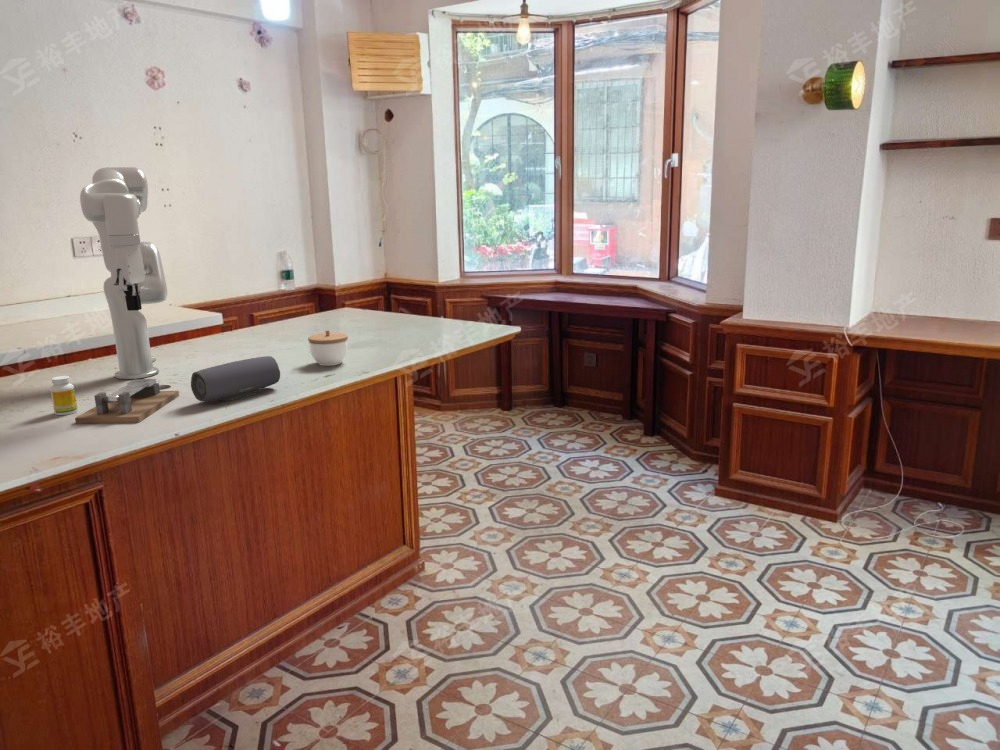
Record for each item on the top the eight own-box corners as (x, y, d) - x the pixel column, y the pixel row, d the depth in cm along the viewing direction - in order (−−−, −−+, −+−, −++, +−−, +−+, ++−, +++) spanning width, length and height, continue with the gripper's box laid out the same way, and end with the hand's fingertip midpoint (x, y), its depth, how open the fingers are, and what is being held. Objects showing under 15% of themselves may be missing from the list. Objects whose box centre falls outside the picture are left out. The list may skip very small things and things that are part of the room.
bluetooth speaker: (264, 385, 218) (260, 352, 216) (283, 390, 212) (279, 356, 210) (191, 403, 201) (187, 367, 199) (209, 408, 195) (205, 372, 193)
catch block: (135, 393, 206) (133, 383, 206) (160, 392, 206) (158, 383, 206) (130, 396, 203) (128, 386, 203) (155, 395, 203) (154, 386, 203)
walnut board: (122, 397, 208) (119, 374, 207) (179, 395, 208) (176, 373, 207) (75, 423, 185) (71, 398, 183) (139, 422, 185) (135, 397, 183)
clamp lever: (134, 384, 205) (133, 378, 205) (156, 383, 205) (155, 378, 205) (99, 403, 187) (98, 397, 187) (123, 403, 187) (122, 396, 187)
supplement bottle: (51, 413, 194) (45, 377, 192) (74, 408, 198) (68, 373, 196) (58, 417, 191) (52, 381, 188) (81, 412, 195) (75, 377, 192)
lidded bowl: (340, 368, 236) (337, 334, 233) (303, 367, 238) (300, 334, 236) (355, 359, 248) (353, 327, 245) (320, 358, 250) (317, 326, 248)
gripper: (124, 239, 203) (133, 305, 207) (95, 244, 188) (106, 315, 193) (151, 239, 203) (160, 305, 207) (125, 243, 188) (135, 314, 193)
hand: (134, 309), depth 200 cm, fingers closed
